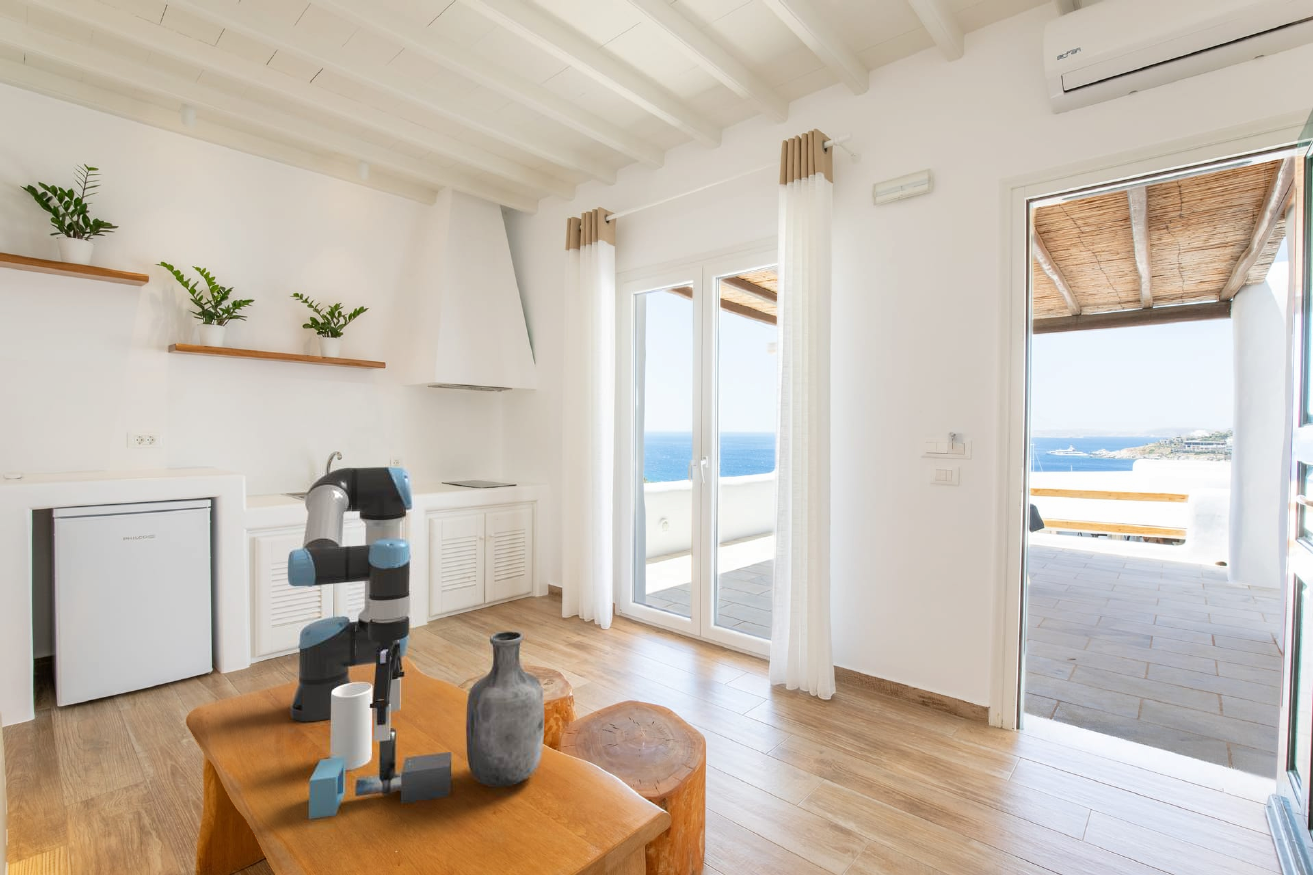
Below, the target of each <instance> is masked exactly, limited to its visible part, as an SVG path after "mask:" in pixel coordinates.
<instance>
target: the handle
mask: <svg viewBox="0 0 1313 875" xmlns="http://www.w3.org/2000/svg"><path fill="white" fill-rule="evenodd" d="M396 740H397V729H396V728H393V727H390V740H386V741H378V742H379V747H378V748H379V752H378V754H379V757H378V758H379V759H378V762H379V763H378V775H371V776H364V777H363V776H361V777H357V778H356V782H355V790H354V792H355V794H354V795H355V797H361V796H367V795H369V796H370V795H375V794H382V796H385V795H390V794H391V792H399V791H401V772H402V771H401V772H396V768H397V767H396V765H397V763H396V762H397V761H396V760H397V759H396V757H397V756H396V755H397V754H396V753H397V743H396V742H397V741H396Z"/></svg>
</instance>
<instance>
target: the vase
mask: <svg viewBox="0 0 1313 875" xmlns="http://www.w3.org/2000/svg"><path fill="white" fill-rule="evenodd" d="M523 638H524V636H523V634H522V632H519V631H501V632H497V633H494V634H492V635H490V637H489V643H490V644H491V645H492V654H493V655H492V657H493V658H492V666H491V670H490V671H489V673H487V675H485V676H483V677H481V678H480V679H478V680H477V681H476V682H475V683H474V684H473V685H472V687H471V688H470V690H469V692H468V695H467V696H468V697H467V703H466V718H465V719H466V721H465V726H466V727H465V730H466V731H465V734H466V736H465V737H466V756H467V761H468V762H467V763H468V768H469V771H470V774H471V775H472V776H473V778H475V780H476V781H477V782H480V783H481V784H483V785H486V786H490V787H499V788H502V787H509V786H513V785H515V784H516V785H517V784H519V783H521V782H523V781H525V780H527V779H529V777H530V776H532V775H533V774H534V773H535V772H536V770H537V768H538V767H539V765H540V763H541V758H542V754H543V749H544V748H543V746H544V738H545V737H544V735H545V700H544V699H545V698H544V690H543V686H542V684H541V682H540V680H539V679H538V678H537V677H536V676H534V675H532V674H530V673H528V672H525V671H524V669H523V668H522V665H521V663H520V647H521V643H522V642H523V641H524V640H523Z"/></svg>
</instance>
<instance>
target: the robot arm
mask: <svg viewBox="0 0 1313 875" xmlns="http://www.w3.org/2000/svg"><path fill="white" fill-rule="evenodd" d="M409 478H410V477H409V475H408V471H407V470H406V469H404V468H403V467H392V466H391V467H390V466H383V467H381V466H379V467H378V466H377V467H343V468H339V469H336V470H332V471H331V472H329V473H327V474H325V475H324V476H321V477H320V478H319V479H317V480H316V481H315V482H314V483H313V484H312V485H311V487H310V488H309V489H308V491H307V494H306V496H305V504H304V505H305V509H306V511H307V520H306V524H305V525H306V526H305V531H304V537H303V544H302V548H300V549H293V550H291V551H290V552H289V554H288V561H287V582H288V584H289V585H290V586H292V587H314V586H325V585H333V584H335V585H336V584H344V583H345V584H346V583H359V582H364V608H363V610H362V611H361V612H359V614H358V616H357V620H356V621H351V620H350V618H349V617H348V616H343V615H342V616H332V617H331V616H330V617H328V618H323V619H320V620H317V621H313V622H312V623H310V624H308V625H306V626H305V627H303V629H301V631H300V635H299V645H298V649H299V661H298V662H299V664H298V670H299V671H298V685H297V689H296V692H295V694H294V697H293V699H292V702H291V704H290V717H291V719H293V720H295V721H298V722H318V721H325V720H329V719H330V720H331V692H332V690H333V689H335V688H337V687H339V686H341V685H344V684H348V683H352V682H351V680H350V675H349V668H350V667H351V668H352V667H357V666H365V665H366V666H367V665H371V664H372V665H373V664H375V672H374V673H375V674H374V682H373V692H372V704H370V708H372V709H373V710H374V711H373V712H374V714H373V715H374V716H373V717H374V719H373V724H374V726H373V742H375V743H376V742H379V741H386V740H390V728H391V713H392V712H401V703H402V702H401V697H402V696H401V695H402V694H401V693H402V691H401V690H402V689H401V688H402V684H401V682H402V678H404V677H405V671H403V660H402V658H403V657H404V656H405V655H406V652H407V649H408V643H409V638H410V626H411V625H410V624H411V620H410V616H408V615H409V614H410V610H411V609H410V607H411V606H410V605H411V604H410V602H411V600H410V599H411V594H410V572H411V571H410V568H411V567H410V563H411V550H410V549H411V548H410V542H409V541H408V540H406V539H401V522H402V521H403V520H404V519H405V518H406V517H407V511H410V510H412V508H413V503H412V502H413V500H412V499H413V498H412V490H411V485H410V484H411V483H410V479H409ZM345 512H346V513H348V512H349V513H350V512H351V513H352V512H359V519H360V520H361V521H362V522H363V523H364V524H365V544H363V545H349V546H347V545H346V546H343V533H344V532H343V530H344V515H345Z"/></svg>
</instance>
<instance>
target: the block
mask: <svg viewBox="0 0 1313 875" xmlns="http://www.w3.org/2000/svg"><path fill="white" fill-rule="evenodd" d="M451 786H452V751H446V752H440V753H439V752H438V753H432V754H431V753H430V754H424V755H416V756H407V757H405V759H404V762H403V765H402V769H401V790H400V804H405V803H406V804H407V803H412V802H413V803H414V802H415V803H416V802H420V801H427V800H429V801H430V800H435V799H436V800H437V799H442V798H449V797H450V794H451Z"/></svg>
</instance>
